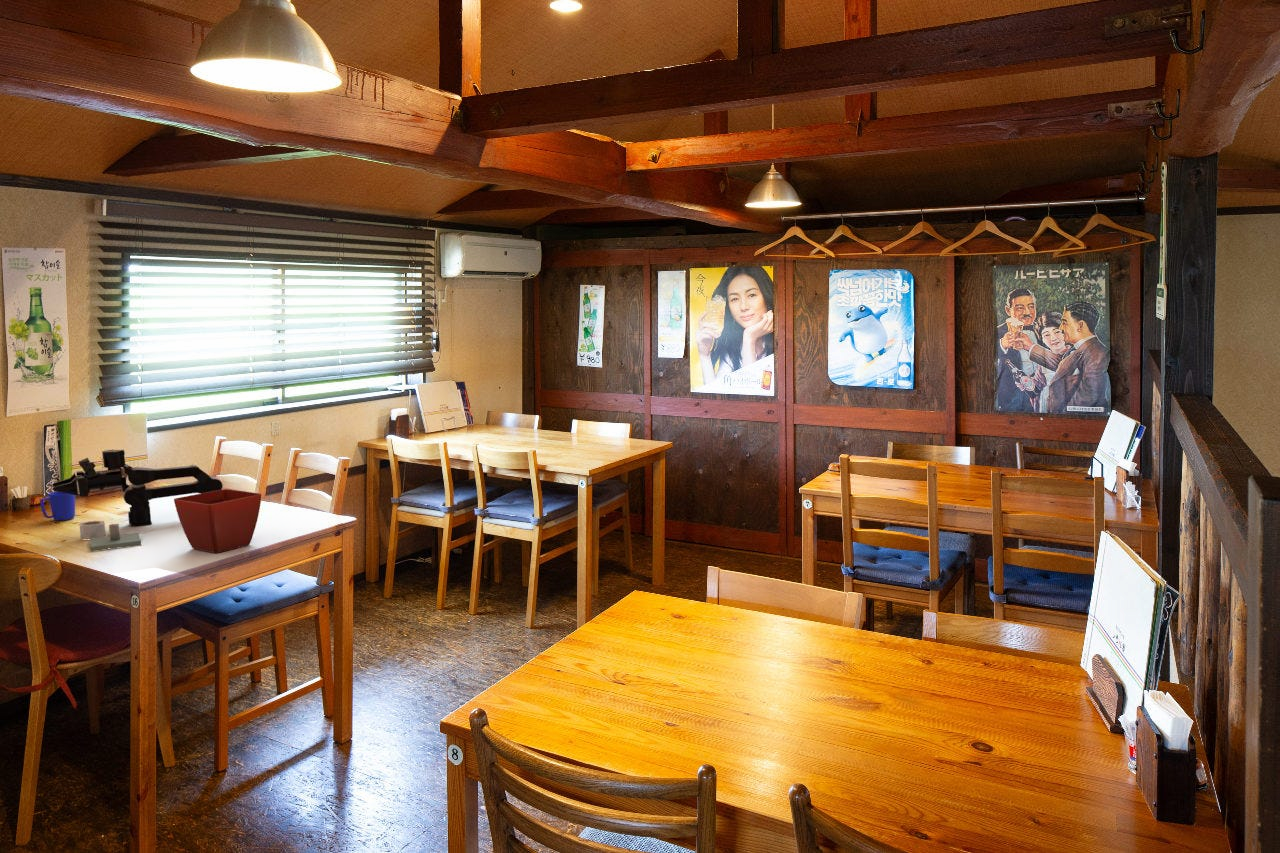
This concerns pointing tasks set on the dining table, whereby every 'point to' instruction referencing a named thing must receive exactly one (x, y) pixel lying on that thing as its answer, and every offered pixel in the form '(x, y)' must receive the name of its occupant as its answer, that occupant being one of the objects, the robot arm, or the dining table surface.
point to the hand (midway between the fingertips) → (52, 486)
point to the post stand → (115, 539)
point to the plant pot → (219, 519)
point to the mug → (60, 505)
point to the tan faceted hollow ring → (92, 529)
